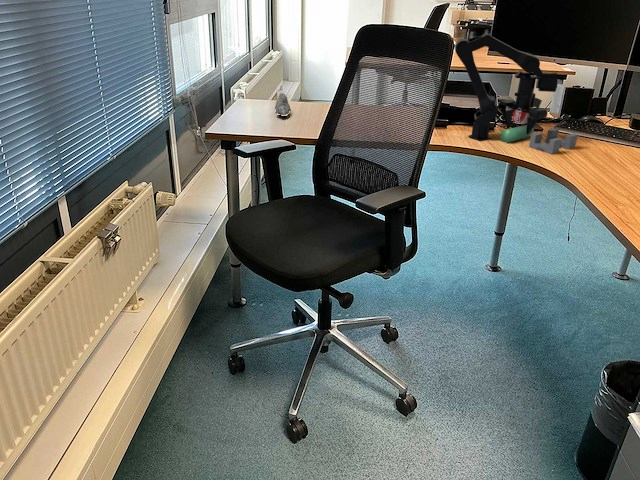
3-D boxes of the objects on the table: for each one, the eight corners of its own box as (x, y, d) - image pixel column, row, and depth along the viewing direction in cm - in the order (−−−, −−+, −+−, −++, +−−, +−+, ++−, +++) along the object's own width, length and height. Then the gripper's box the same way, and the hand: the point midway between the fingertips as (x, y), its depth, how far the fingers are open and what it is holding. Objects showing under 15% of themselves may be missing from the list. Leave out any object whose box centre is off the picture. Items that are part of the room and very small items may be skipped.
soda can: (529, 127, 225) (535, 98, 219) (512, 126, 226) (517, 97, 220) (527, 122, 231) (533, 94, 225) (510, 121, 232) (515, 93, 226)
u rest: (551, 154, 194) (554, 141, 191) (528, 146, 201) (531, 134, 199) (574, 147, 200) (577, 134, 198) (551, 140, 208) (554, 128, 205)
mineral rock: (284, 120, 231) (283, 97, 227) (263, 117, 236) (262, 94, 231) (298, 114, 242) (298, 91, 237) (278, 111, 246) (277, 89, 241)
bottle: (511, 142, 203) (510, 129, 202) (501, 143, 208) (499, 130, 207) (537, 135, 211) (535, 123, 210) (526, 137, 215) (525, 124, 214)
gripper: (560, 92, 196) (551, 133, 204) (519, 83, 210) (512, 122, 217) (541, 96, 191) (533, 138, 198) (500, 86, 205) (493, 126, 212)
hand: (517, 131), depth 207 cm, fingers open, 9 cm apart
